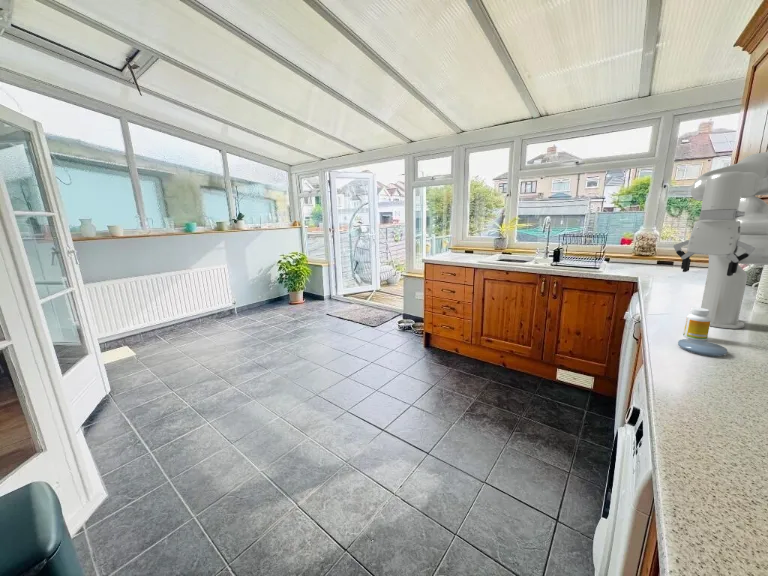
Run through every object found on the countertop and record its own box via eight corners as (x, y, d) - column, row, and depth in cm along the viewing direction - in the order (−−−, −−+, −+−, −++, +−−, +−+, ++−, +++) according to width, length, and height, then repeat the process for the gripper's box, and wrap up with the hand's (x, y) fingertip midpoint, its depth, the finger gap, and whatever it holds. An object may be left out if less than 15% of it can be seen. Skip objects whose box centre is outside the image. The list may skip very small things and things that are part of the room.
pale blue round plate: (684, 341, 97) (684, 336, 96) (730, 351, 88) (731, 346, 88) (672, 348, 92) (673, 344, 91) (720, 360, 83) (721, 355, 83)
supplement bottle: (711, 341, 96) (717, 311, 94) (691, 340, 97) (696, 311, 95) (698, 335, 101) (703, 307, 99) (679, 334, 102) (684, 306, 100)
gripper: (766, 215, 85) (752, 275, 89) (683, 217, 100) (674, 269, 103) (760, 215, 82) (746, 278, 85) (674, 217, 96) (665, 271, 100)
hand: (706, 273), depth 94 cm, fingers open, 9 cm apart
